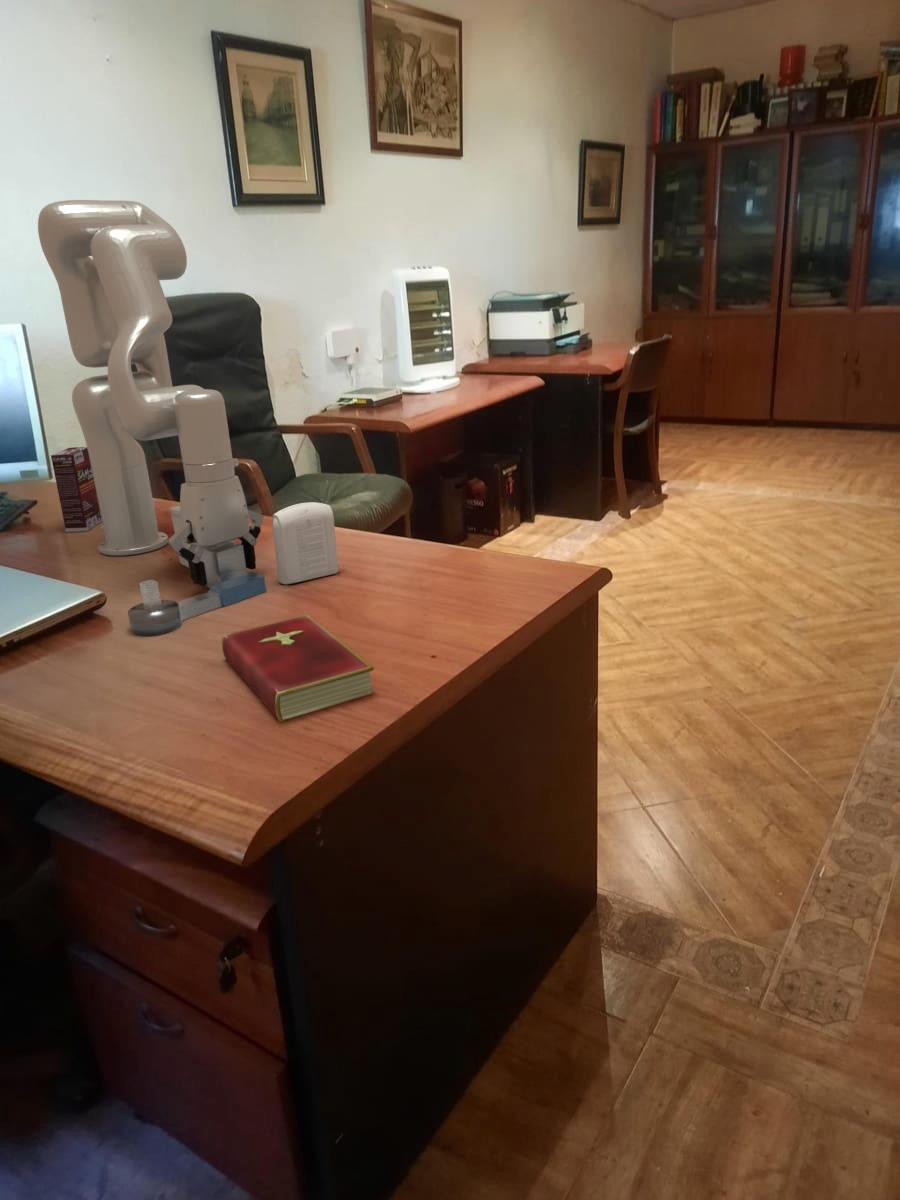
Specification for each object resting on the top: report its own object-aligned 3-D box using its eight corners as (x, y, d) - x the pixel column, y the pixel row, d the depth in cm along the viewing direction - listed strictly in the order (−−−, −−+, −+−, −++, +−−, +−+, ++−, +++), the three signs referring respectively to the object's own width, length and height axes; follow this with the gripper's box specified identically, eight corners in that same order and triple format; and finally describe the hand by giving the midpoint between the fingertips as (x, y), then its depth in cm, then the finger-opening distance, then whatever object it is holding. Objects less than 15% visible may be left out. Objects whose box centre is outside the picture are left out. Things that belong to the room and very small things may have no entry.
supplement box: (88, 531, 179) (72, 454, 174) (65, 533, 179) (48, 455, 174) (104, 520, 187) (90, 446, 182) (82, 521, 187) (67, 447, 182)
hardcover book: (279, 726, 98) (274, 692, 97) (224, 662, 115) (219, 633, 114) (376, 697, 104) (373, 664, 102) (310, 640, 121) (306, 612, 119)
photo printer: (331, 567, 149) (324, 495, 145) (343, 573, 146) (335, 500, 141) (274, 581, 144) (265, 507, 140) (285, 587, 141) (276, 512, 136)
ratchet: (121, 629, 127) (113, 584, 125) (246, 585, 143) (241, 545, 140) (147, 639, 123) (139, 594, 121) (273, 593, 138) (268, 552, 136)
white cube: (204, 585, 144) (198, 548, 141) (230, 577, 147) (224, 540, 145) (222, 591, 140) (216, 553, 138) (248, 582, 144) (242, 545, 142)
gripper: (240, 458, 146) (254, 558, 152) (146, 480, 134) (165, 587, 140) (268, 463, 141) (281, 565, 147) (173, 486, 129) (192, 596, 135)
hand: (225, 575), depth 143 cm, fingers open, 9 cm apart
